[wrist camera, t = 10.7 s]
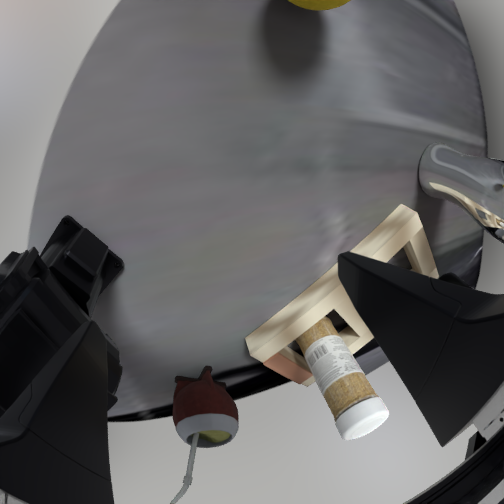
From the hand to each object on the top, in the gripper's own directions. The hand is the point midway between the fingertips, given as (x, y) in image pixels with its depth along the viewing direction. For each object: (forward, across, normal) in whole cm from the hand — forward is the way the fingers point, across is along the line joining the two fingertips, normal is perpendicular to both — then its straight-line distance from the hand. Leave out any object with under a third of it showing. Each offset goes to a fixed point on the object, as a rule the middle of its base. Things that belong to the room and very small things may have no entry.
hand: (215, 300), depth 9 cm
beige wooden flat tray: (+13, -13, +15) cm, 23 cm away
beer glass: (+13, -24, +2) cm, 27 cm away
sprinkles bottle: (+13, -8, +18) cm, 23 cm away
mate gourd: (+13, +6, +22) cm, 26 cm away
